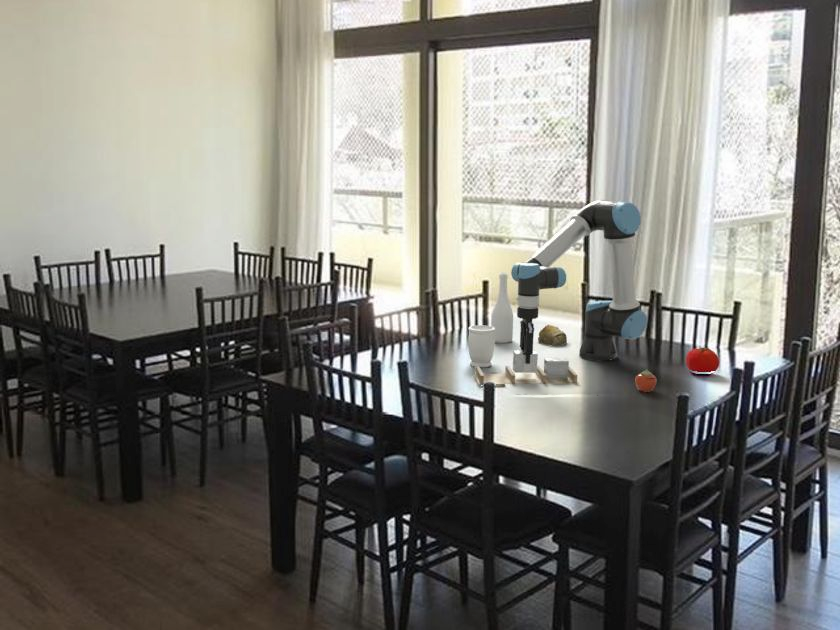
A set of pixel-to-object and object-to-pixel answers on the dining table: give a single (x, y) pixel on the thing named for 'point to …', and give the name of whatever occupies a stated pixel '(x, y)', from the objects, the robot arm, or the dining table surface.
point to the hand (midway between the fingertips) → (525, 369)
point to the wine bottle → (502, 314)
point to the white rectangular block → (519, 362)
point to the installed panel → (556, 368)
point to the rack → (521, 377)
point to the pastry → (552, 336)
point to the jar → (481, 345)
